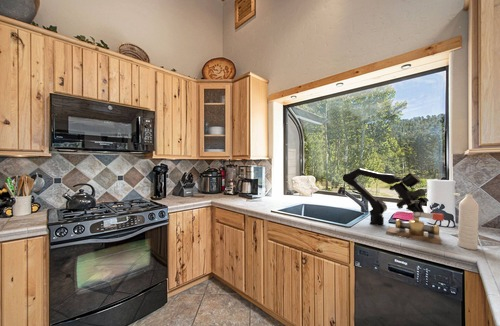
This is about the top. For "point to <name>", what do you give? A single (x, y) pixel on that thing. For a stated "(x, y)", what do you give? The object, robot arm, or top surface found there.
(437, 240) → the valve board
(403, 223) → the valve body
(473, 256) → the top surface
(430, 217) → the valve lever
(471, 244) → the water bottle
